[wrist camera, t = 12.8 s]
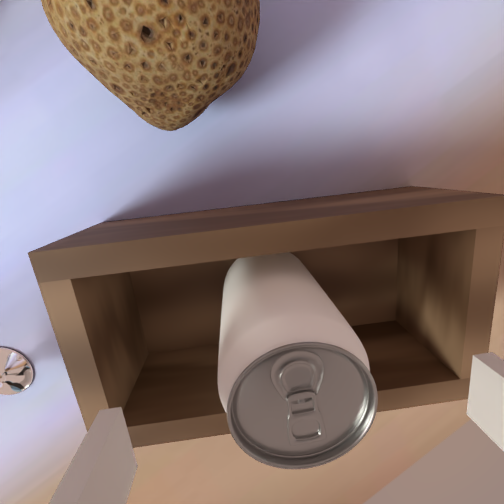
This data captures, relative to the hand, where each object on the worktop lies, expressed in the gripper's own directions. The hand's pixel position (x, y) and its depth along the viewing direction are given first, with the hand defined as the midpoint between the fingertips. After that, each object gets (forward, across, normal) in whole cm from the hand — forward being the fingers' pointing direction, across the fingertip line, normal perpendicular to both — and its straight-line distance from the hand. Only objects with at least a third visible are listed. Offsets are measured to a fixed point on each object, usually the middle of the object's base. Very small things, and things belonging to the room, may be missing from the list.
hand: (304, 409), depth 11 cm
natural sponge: (+13, +4, -16) cm, 21 cm away
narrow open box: (+13, 0, 0) cm, 13 cm away
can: (+12, 0, 0) cm, 12 cm away
